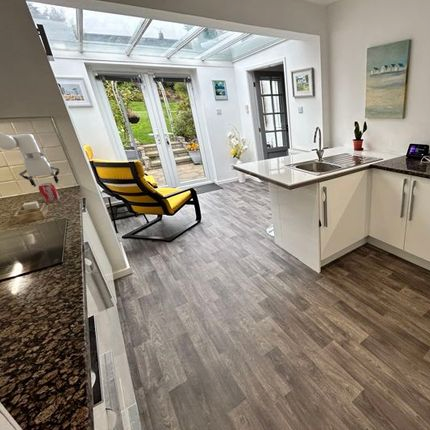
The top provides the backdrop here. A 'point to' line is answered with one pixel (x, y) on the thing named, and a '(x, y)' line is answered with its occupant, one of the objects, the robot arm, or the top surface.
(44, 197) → the soda can
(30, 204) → the block
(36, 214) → the rack
